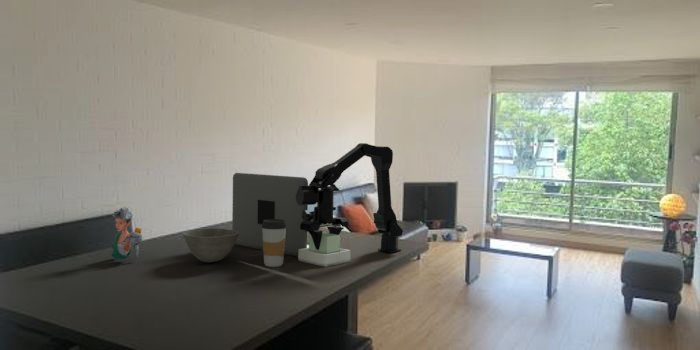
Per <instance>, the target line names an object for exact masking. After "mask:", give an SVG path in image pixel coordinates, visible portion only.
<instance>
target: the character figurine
mask: <svg viewBox="0 0 700 350" xmlns="http://www.w3.org/2000/svg"><path fill="white" fill-rule="evenodd" d="M112 217H113V220H114V222H115V228H116V229H117V233H115V235H114V240H113V243H112V244H111V249H112V252H111V257H112V258H113V259H115V260H116V259H117V260H118V259H119V260H126V259H128V258H129V256H131V253H132V245H133V251H134V256H135V258H139V257H140V247H139V246H140V245H139V243H142V242H143V234H142V231H143V230H142V228H140V227H136V228H135V229H134V231H131V232H129V231H128V227H129V226H131V220H133V214H132V211H130V210H129V207H127V206H122V207H120V208H119V209H116V210H115V211H114V213H113V214H112Z"/></svg>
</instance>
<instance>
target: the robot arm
mask: <svg viewBox="0 0 700 350" xmlns="http://www.w3.org/2000/svg"><path fill="white" fill-rule="evenodd" d="M393 156H394V153H393V149H391V147H389V146H382V145H381V146H378V145H372V144H369V143H367V142H365V143H362V142H360V143H358V144H357V145H355V146H354V147H353V148H352V149H351V150H349V151H348V152H346V153H345V154H344V155H342V156H341V157H339V158H338V159H337V160H335V161H334V162H331V163H329V164H326V165H323V166H321V167H320V168H318V169H316V171H315V173H314V177H313V178H312V180H310V183H308V186H304V185H299V189H298V191H297V194H296V201H297V204H298V205H308V206H314V205H316V206H314V207H313V211H310V210H309V209H308V210H304V211H302V219H303V220H307V221H302V222H301V224H300V229H301V230H306V231H307V233H308V234H311V236H312V239H313V242H314V245H315V248H316V249H317V250H319V247H320V243H321V237H322V232H323V230H321V228H323V227H324V228H325V227H326V228H327V230H328V233H330V234H336V235H340V234H341V232H342V230H344V228H345V227H349V219H348V218H347V217H340V216H335V217H334V211H336V210H337V209H336V208H337V207H335V206H334V201H335V200H334V198H335V197H334V194H335V193H334V192H339V191H340V188H338V186H336V183H337V181H338V180H339V179H340V178H341V177H342V174H343V173H344V172H345V171H346V170H347V169H349V168H350V167H351V166H352V165H354V164H355V163H357V162H358V161H360V160H361V159H362V158H364V157H369V158H370V160H371V165H372V166H373V168H374V169H375V177H376V188H377V189H376V190H377V191H376V192H377V201H378V202H377V205H378V207H377V211H376V212H373V215H372V216H373V224H374V226H375V227H376V228H377V233H378V234H380V235H381V239H380V248H378V249H377V250H378V251H380V252H386V253H390V254H391V253H396V252H400V251H402V249H401V248H399V237H401V236H402V235H403V232H404V230H403V229H402V227H401V226H399V224H398V220H397V216H396V213H395V211H394V210H393V207H392V195H391V192H392V191H391V182H390V181H391V180H390V178H391V177H390V169H391V167H392V164H393V159H394V157H393Z"/></svg>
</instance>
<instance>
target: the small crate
mask: <svg viewBox="0 0 700 350" xmlns="http://www.w3.org/2000/svg"><path fill="white" fill-rule="evenodd" d="M308 245H309V251H312V252H316V253H321V254H325V255H326V254H331V253H336V252H340V248H341V235H340V234H339V235H336V234H330V233H329V232H325V231H324V232H322V237H321V243H320V247H319V250H317V249H316V248H315V245H314V242H313V239H312V236H311V234H310V233H308Z"/></svg>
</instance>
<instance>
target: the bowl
mask: <svg viewBox="0 0 700 350" xmlns="http://www.w3.org/2000/svg"><path fill="white" fill-rule="evenodd" d="M182 235H183V239H184V240H185V244H186V245H187V247H188V249H189V251H190V252H191V254H192V255H194V256H195V258H196V259H198V260H199V261H201V262H203V263H215V262H220V261H221V260H223V259H224V258H226V257H227V256H228V255H229V253H230V252H231V251H232V249H233V247H234V246H235V242H236V240H237V238H238V235H239V232H238V231H234V230H232V229H225V228H212V227H211V228H201V229H200V228H199V229H198V228H197V229H190V230H186V231H183V232H182Z"/></svg>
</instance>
